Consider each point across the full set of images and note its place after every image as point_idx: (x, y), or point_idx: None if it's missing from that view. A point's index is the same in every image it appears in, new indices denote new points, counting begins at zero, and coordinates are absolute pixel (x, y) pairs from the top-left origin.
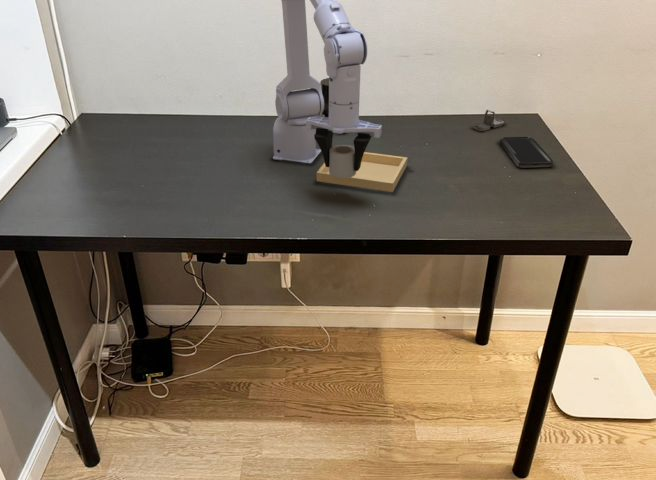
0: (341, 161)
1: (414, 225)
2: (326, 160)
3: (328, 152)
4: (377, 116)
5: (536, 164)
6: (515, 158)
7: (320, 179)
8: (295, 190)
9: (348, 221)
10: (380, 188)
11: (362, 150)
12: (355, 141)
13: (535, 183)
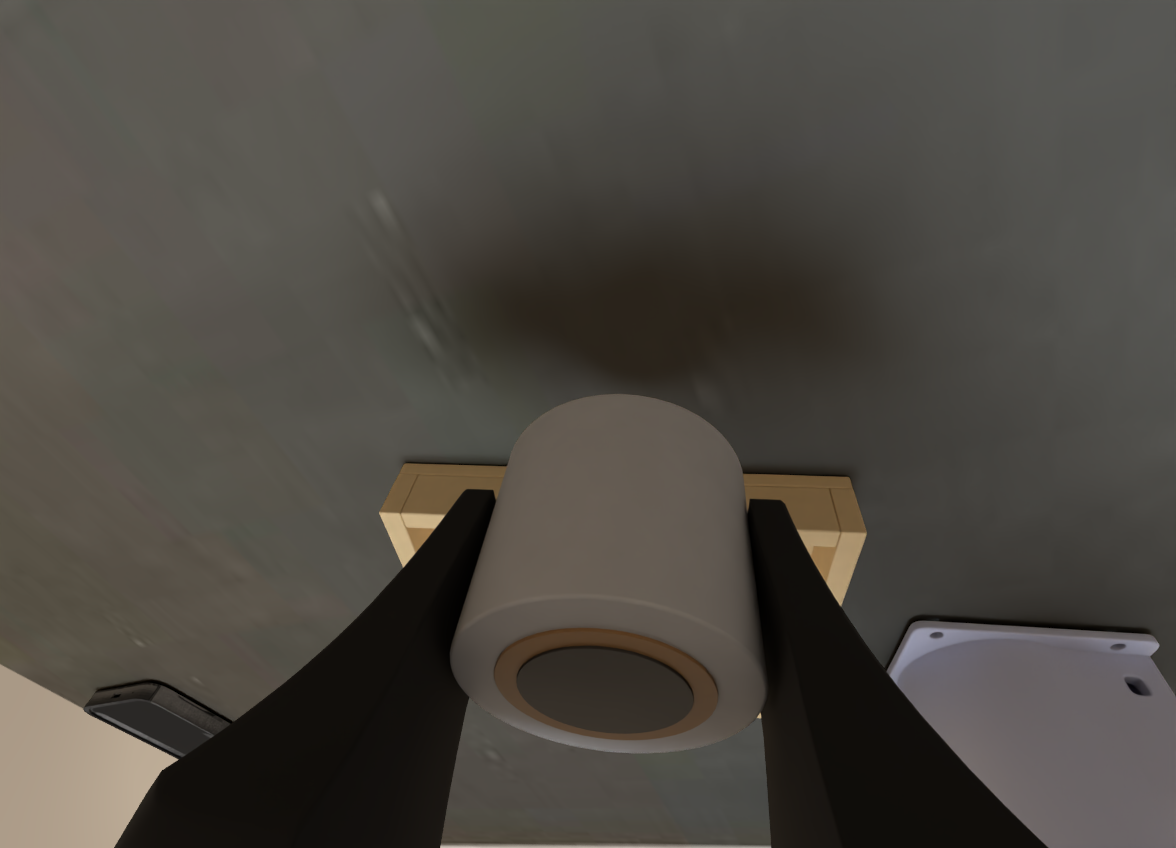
0: (572, 531)
1: (70, 174)
2: (779, 549)
3: (775, 646)
4: (709, 844)
5: (113, 698)
6: (178, 715)
7: (829, 497)
8: (993, 373)
9: (467, 42)
10: (460, 483)
11: (280, 687)
12: (256, 844)
13: (44, 622)
